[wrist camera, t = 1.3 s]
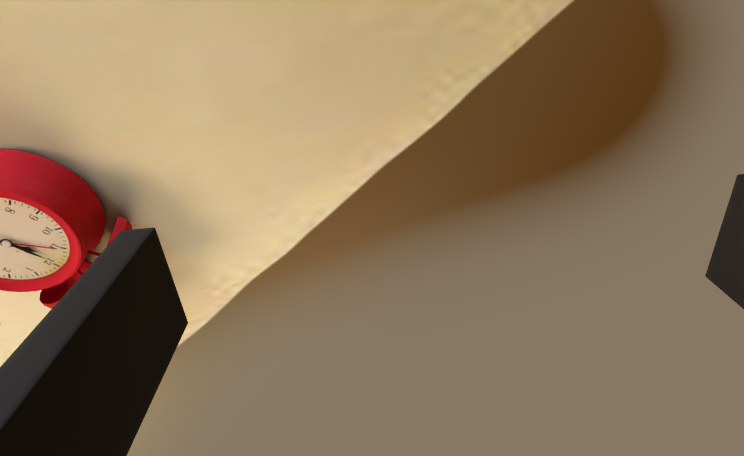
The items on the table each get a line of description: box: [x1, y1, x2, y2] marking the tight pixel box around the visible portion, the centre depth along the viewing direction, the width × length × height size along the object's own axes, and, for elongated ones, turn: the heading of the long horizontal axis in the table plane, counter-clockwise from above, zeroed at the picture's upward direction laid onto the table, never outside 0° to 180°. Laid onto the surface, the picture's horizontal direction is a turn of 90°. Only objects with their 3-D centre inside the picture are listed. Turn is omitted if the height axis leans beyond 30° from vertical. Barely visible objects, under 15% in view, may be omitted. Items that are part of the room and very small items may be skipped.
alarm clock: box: [0, 149, 132, 308], centre depth 34 cm, size 10×6×15 cm
